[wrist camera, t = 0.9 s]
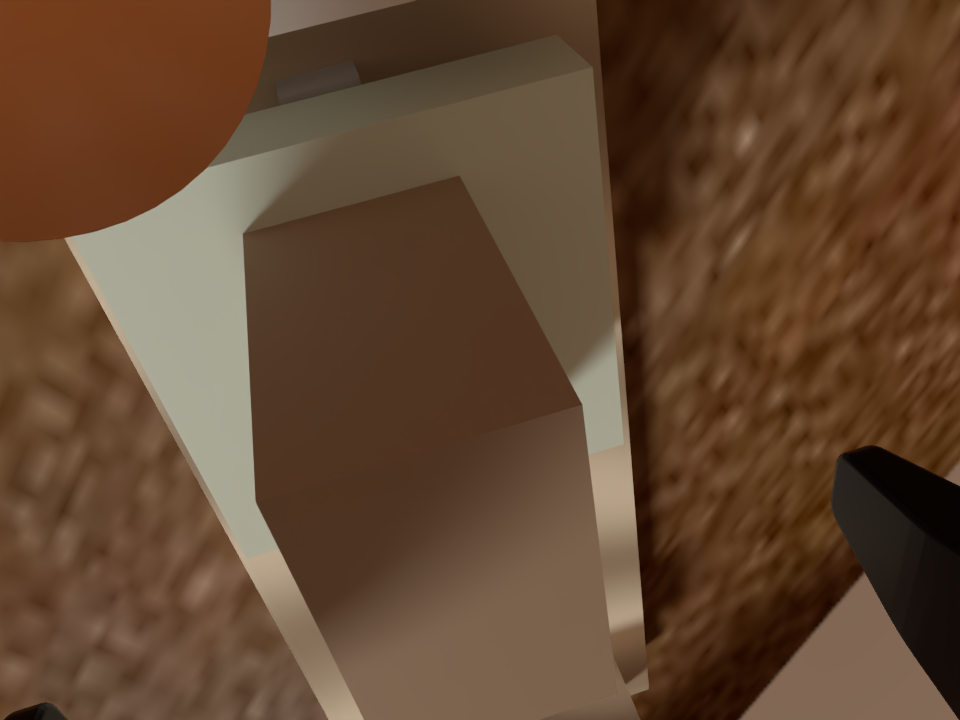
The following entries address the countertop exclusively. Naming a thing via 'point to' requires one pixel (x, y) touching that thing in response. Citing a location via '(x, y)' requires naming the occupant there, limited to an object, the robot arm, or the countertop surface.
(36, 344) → the countertop surface
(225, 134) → the button
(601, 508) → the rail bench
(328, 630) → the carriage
